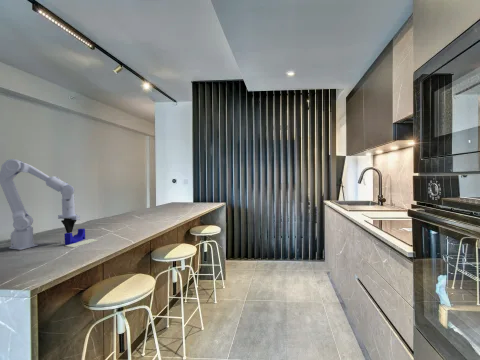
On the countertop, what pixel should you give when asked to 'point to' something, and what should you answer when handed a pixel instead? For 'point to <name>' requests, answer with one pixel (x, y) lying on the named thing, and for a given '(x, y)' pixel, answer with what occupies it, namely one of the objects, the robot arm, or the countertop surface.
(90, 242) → the mat
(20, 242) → the robot arm
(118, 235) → the countertop surface
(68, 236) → the cable clip
